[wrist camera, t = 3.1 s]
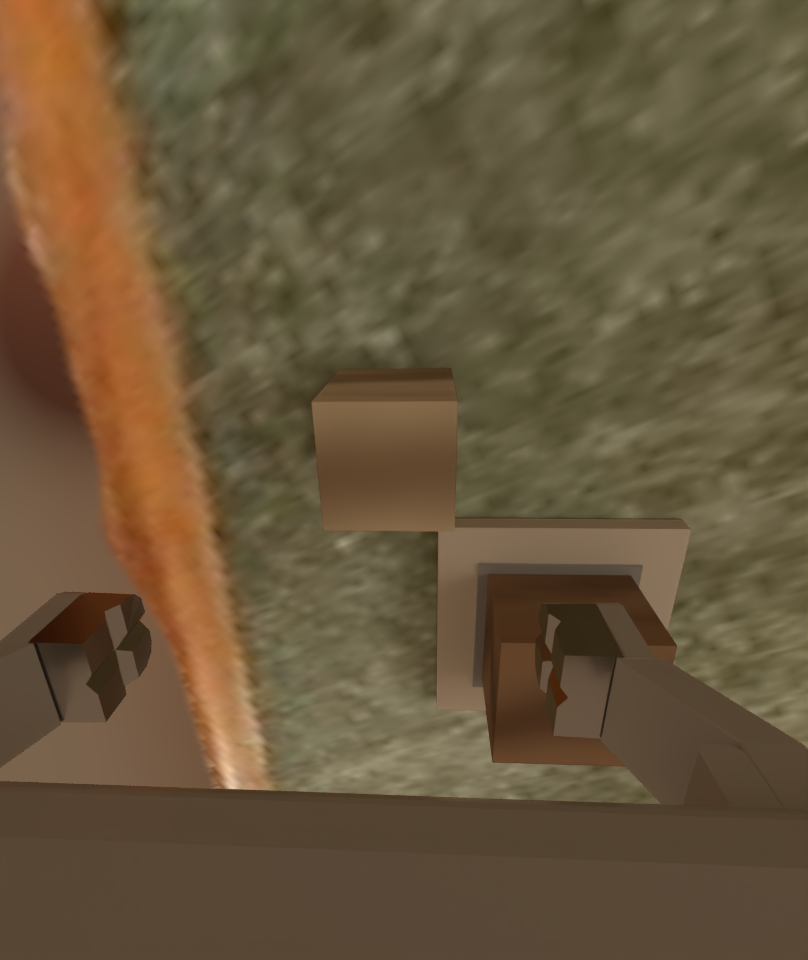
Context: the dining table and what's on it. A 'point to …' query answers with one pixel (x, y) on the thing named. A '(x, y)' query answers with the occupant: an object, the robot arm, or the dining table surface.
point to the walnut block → (511, 662)
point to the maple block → (387, 450)
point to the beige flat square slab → (539, 550)
